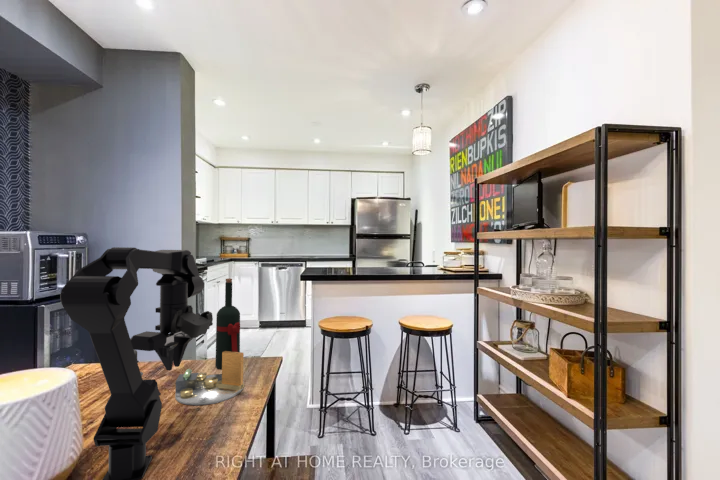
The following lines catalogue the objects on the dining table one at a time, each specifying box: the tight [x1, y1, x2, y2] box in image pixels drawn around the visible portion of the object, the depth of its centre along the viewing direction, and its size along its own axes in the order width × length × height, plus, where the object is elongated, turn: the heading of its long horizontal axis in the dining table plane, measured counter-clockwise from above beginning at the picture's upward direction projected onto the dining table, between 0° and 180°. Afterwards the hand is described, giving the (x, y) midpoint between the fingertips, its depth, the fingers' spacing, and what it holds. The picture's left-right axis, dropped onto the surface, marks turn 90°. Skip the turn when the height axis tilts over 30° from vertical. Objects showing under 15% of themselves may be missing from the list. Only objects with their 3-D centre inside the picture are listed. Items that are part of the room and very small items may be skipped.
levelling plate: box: [174, 368, 245, 407], centre depth 95 cm, size 18×18×6 cm
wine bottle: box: [214, 278, 241, 370], centre depth 114 cm, size 8×10×30 cm
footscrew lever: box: [204, 351, 245, 390], centre depth 95 cm, size 12×4×10 cm, turn 77°
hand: (173, 368), depth 78 cm, fingers open, 2 cm apart
